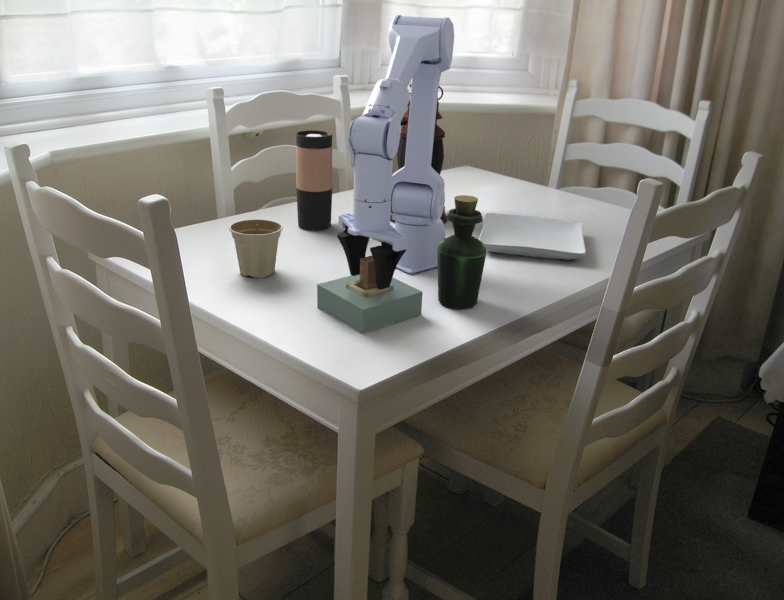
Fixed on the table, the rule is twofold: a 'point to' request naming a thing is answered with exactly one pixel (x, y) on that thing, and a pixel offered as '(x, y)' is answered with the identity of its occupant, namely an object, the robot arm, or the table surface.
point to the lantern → (436, 152)
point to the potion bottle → (461, 257)
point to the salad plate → (532, 236)
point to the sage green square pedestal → (368, 303)
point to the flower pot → (256, 245)
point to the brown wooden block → (367, 273)
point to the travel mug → (314, 179)
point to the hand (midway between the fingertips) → (369, 280)
